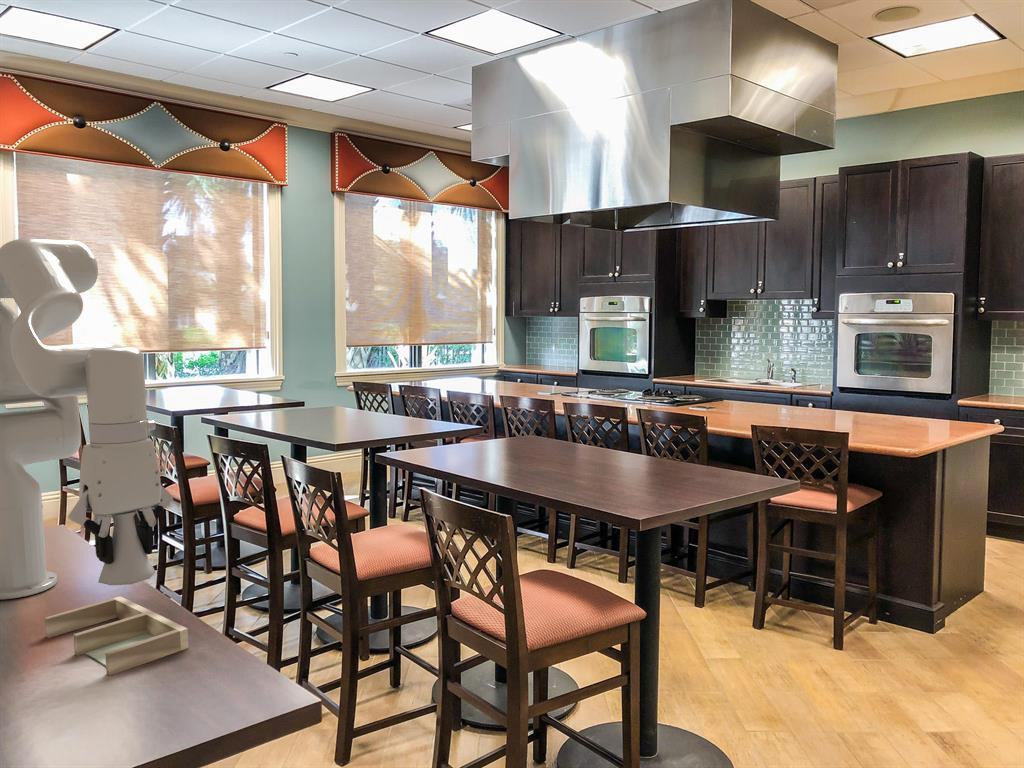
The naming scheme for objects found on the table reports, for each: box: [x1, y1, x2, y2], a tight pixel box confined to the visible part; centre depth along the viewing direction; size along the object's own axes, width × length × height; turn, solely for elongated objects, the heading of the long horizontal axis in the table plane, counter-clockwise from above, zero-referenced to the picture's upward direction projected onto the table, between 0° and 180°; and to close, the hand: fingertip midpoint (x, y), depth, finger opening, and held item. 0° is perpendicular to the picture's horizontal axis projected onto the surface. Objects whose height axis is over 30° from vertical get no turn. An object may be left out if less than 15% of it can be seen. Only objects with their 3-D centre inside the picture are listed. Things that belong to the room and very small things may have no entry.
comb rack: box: [44, 595, 190, 677], centre depth 125 cm, size 21×12×3 cm, turn 51°
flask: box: [97, 510, 156, 586], centre depth 120 cm, size 7×7×10 cm
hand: (125, 555), depth 121 cm, fingers closed on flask, 5 cm apart
